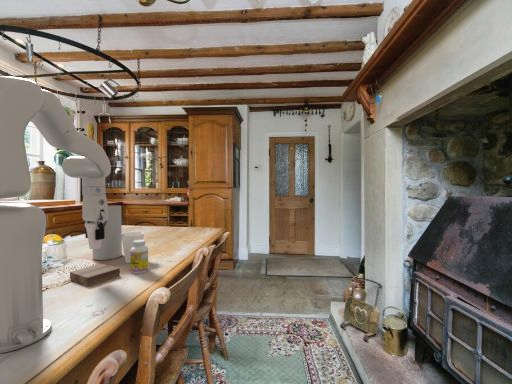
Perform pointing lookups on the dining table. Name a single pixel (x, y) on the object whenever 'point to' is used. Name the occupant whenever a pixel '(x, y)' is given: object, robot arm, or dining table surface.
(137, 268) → the supplement bottle
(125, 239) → the foam cup
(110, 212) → the cylinder vase
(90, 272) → the plinth
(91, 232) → the smoothie
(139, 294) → the dining table surface
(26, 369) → the dining table surface
